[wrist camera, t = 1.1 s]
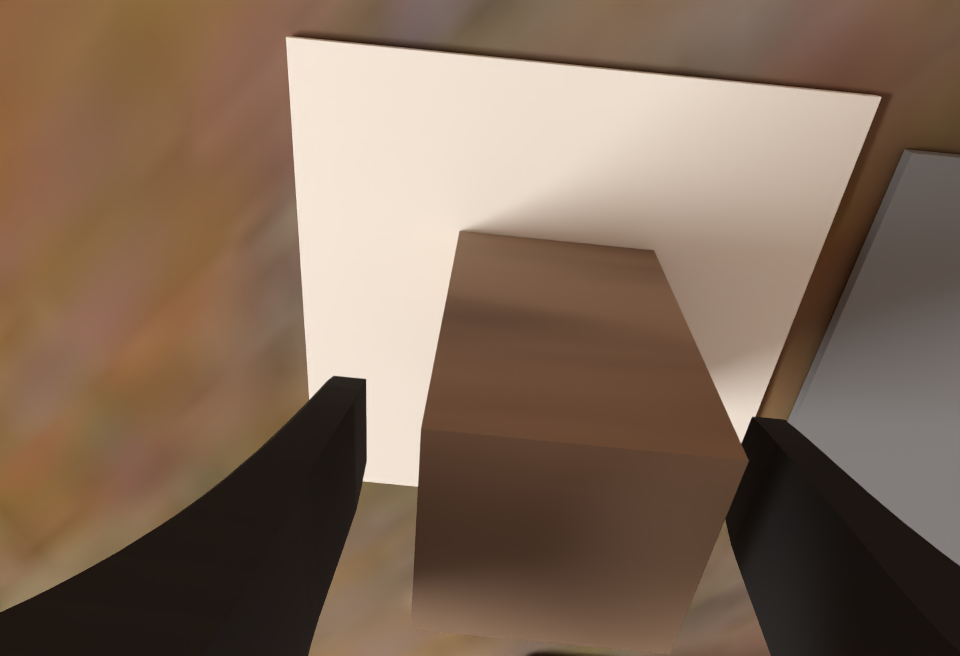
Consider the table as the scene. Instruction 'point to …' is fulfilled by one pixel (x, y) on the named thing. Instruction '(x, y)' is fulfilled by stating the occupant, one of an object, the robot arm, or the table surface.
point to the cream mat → (549, 203)
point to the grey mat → (899, 356)
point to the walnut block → (567, 450)
